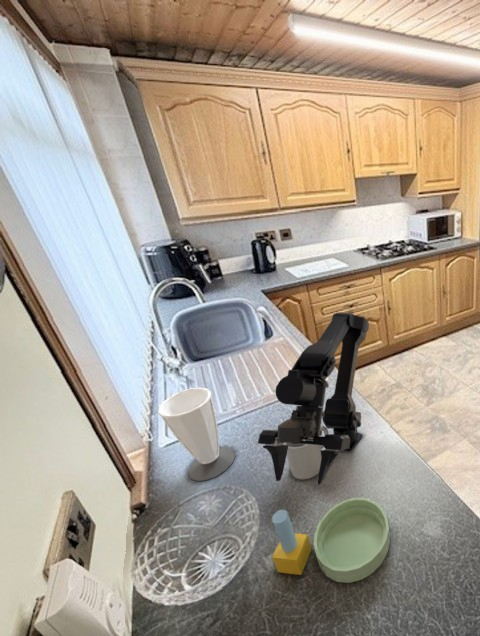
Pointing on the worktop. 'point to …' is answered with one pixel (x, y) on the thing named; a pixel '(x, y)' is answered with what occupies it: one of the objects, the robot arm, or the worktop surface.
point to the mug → (305, 458)
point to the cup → (197, 431)
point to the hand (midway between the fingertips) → (298, 482)
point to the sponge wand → (289, 546)
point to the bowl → (352, 540)
